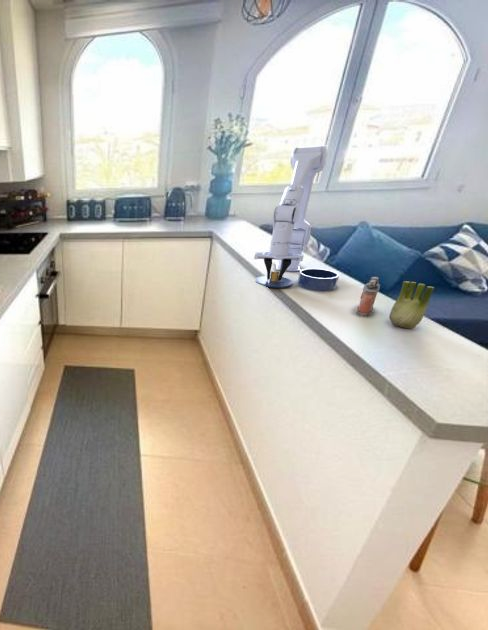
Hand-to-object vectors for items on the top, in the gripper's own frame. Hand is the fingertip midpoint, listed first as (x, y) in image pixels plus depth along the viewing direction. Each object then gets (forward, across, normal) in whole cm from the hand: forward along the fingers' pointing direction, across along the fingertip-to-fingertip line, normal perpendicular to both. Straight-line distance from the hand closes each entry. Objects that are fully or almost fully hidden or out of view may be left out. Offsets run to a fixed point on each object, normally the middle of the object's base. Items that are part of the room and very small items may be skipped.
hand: (273, 279), depth 123 cm
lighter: (+2, +22, -19) cm, 29 cm away
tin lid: (+1, 0, 0) cm, 1 cm away
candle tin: (+2, +13, +1) cm, 13 cm away
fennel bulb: (+2, +28, -27) cm, 39 cm away
